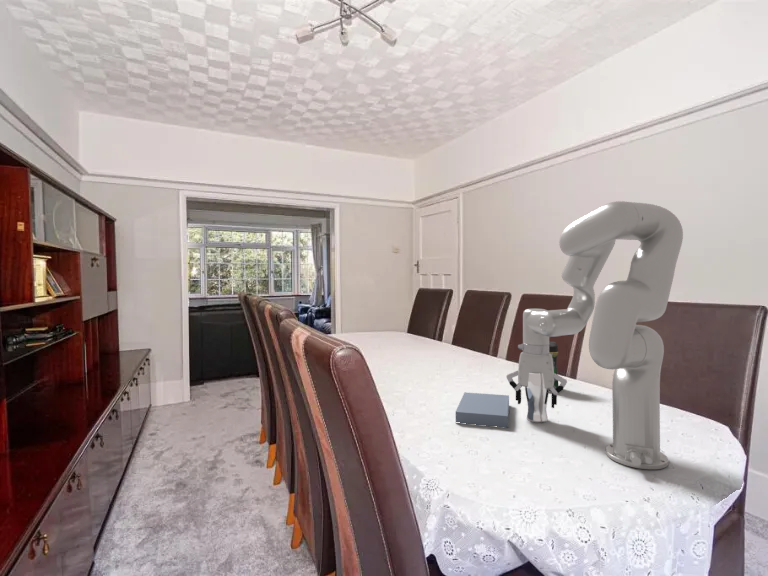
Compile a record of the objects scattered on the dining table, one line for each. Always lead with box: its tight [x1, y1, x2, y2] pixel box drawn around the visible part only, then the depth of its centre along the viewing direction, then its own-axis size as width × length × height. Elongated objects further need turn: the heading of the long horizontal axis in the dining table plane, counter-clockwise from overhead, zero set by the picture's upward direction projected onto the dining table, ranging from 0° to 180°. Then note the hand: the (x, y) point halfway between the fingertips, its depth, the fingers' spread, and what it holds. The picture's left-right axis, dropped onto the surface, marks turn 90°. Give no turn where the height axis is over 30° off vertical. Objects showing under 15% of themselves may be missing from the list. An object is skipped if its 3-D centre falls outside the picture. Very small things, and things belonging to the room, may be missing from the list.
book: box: [455, 392, 510, 429], centre depth 130 cm, size 22×15×4 cm
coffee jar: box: [549, 341, 559, 391], centre depth 159 cm, size 10×8×19 cm
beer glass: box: [524, 372, 550, 424], centre depth 123 cm, size 7×7×15 cm
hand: (535, 404), depth 124 cm, fingers open, 9 cm apart
